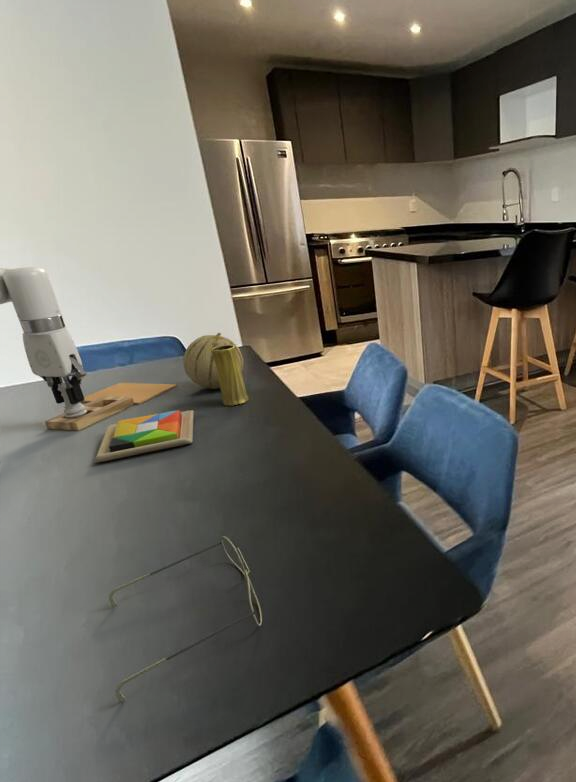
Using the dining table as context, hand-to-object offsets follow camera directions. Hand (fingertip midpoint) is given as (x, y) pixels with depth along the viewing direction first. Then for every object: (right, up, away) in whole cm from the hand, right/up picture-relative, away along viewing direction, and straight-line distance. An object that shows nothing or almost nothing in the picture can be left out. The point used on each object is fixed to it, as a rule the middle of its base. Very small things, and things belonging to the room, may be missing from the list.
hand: (70, 401), depth 116 cm
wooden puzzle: (+25, -9, -9) cm, 28 cm away
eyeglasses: (+59, -27, -58) cm, 87 cm away
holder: (+1, -4, +5) cm, 7 cm away
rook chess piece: (0, -4, +1) cm, 4 cm away
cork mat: (+1, +2, +20) cm, 20 cm away
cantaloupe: (+26, +4, +21) cm, 33 cm away
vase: (+35, 0, +9) cm, 36 cm away
